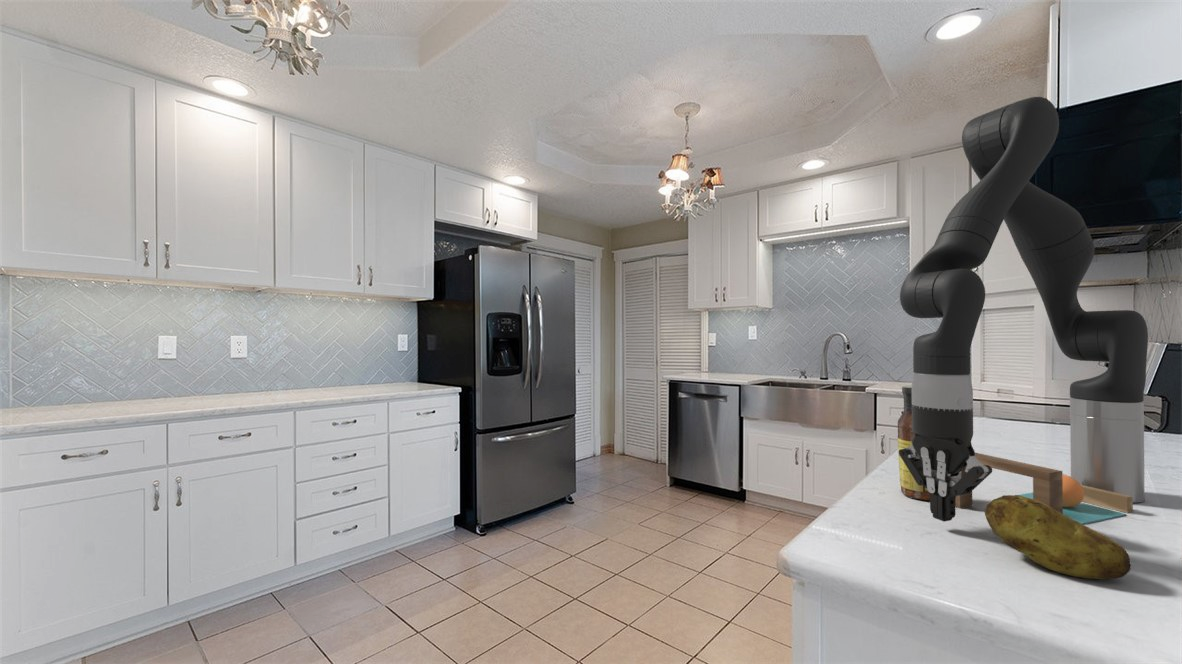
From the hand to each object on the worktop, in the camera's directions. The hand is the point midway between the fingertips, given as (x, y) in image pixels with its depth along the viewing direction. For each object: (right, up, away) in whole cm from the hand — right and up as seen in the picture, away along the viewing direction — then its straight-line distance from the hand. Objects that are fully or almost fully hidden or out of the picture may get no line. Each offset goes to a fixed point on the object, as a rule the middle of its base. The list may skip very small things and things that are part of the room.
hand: (942, 519), depth 74 cm
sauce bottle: (+6, -2, +15) cm, 16 cm away
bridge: (+12, -1, +4) cm, 13 cm away
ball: (+26, +1, +9) cm, 28 cm away
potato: (+5, -2, -12) cm, 13 cm away
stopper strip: (+33, -1, +12) cm, 35 cm away
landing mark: (+25, -1, +9) cm, 27 cm away
